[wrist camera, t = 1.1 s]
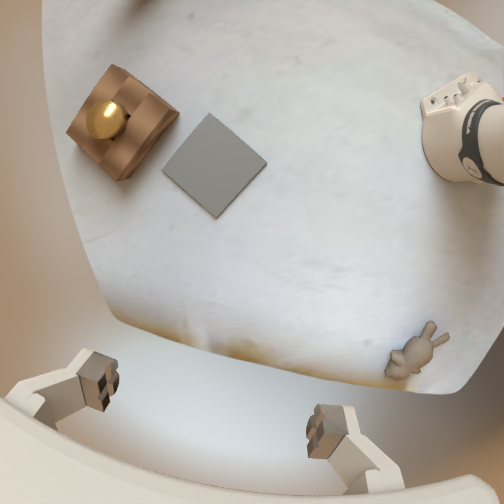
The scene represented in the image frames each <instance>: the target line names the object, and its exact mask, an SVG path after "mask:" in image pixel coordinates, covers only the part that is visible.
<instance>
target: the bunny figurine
mask: <svg viewBox="0 0 504 504" xmlns="http://www.w3.org/2000/svg"><path fill="white" fill-rule="evenodd" d="M436 329H437V326H436V324H435V323H434V322H433V321H429V322H427V323H426V325H425V327H424V330H423V332H422V335H421V337H416V336H414V337H412V338H411V339H410V340H409V341H408V342H407V343H406V344H405V346H404V348H403V350H392V351H391V353H390V355H391V358H392V359H391V360H390V361H389V363H388V366H387V369H385V374H386V376H388V377H390V378H391V377H392V379H394V380H396V381H397V380H399V379H402V380H403V379H406V378H408V377H409V375H410V373H416V374H419V373H420V372H421V371H420V368H421V367H423V366H425V365H426V364H427V363H428V362H430V360H431V359H432V357H433V348H434V347H437V346H439V345H441V344H443V343H445V342H447V341H448V340H449V338H450V336H449V333H444V334H443V335H441V336H440V337H438V338H437V339H435V340H434V341H431V340H430V338H431V337H432V335H433V334H434V332H435V331H436Z"/></svg>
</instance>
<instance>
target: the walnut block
mask: <svg viewBox="0 0 504 504" xmlns="http://www.w3.org/2000/svg"><path fill="white" fill-rule="evenodd" d="M101 100H110V101H114V102H118V103H121V104H122V105H123V106H124V107H125V108H126V110H127V113H128V114H129V115H131V117H130V118H129V120H128V121H127V125H126V127H125V129H124V131H123V132H122V133H121V134H120V135H119V136H117V137H115V138H112V139H97V138H94V137H92V136H91V135H90V134H89V132H88V130H87V127H86V118H87V114H88V112H89V110H90V108H91V107H92V106H93V105H94V104H95V103H96V102H98V101H101ZM179 113H180V112H178V111H177V110H176V109H175V108H173V107H172V106H171V105H170V104H168V103H167V102H166V101H165V100H163V99H162V98H161V97H160V96H158V95H157V94H156V93H155V92H153V91H152V90H151V89H149V88H148V87H147V86H146V85H144V84H143V83H142V82H140V81H139V80H138V79H137V78H135V77H134V76H133V75H131V74H130V73H129V72H127V71H126V70H124V69H122V68H120V67H118V66H115V65H113V64H112V65H111V66H110V67H109V68H108V70H107V71H106V72H105V74H104V75H103V76H102V78H101V79H100V81H99V82H98V83H97V85H96V86H95V88H94V89H93V91H92V92H91V93H90V95H89V96H88V98H87V99H86V101H85V102H84V104H83V106H82V107H81V109H80V110H79V112H78V113H77V115H76V117H75V118H74V120H73V122H72V123H71V125H70V127H69V128H68V130H67V132H66V133H67V134H68V135H69V136H70V137H71V138H72V139H73V140H74V141H75V142H76V143H77V144H78V145H79V146H80V147H81V148H82V149H83V150H84V151H85V152H86V153H87V154H88V155H89V156H90V157H91V158H92V159H93V160H94V161H95V162H96V163H97V164H99V165H100V166H101V167H102V168H103V169H104V170H105V171H106V172H107V173H108V174H109V175H110V176H111V177H112V178H113V179H114V180H115V181H119V180H123V179H128V178H130V177H131V175H132V174H133V173H134V171H135V170H136V168H137V167H138V166H139V164H140V163H141V161H142V160H143V159H144V157H145V156H146V155H147V153H148V152H149V151H150V149H151V148H152V147H153V145H154V144H155V143H156V141H157V140H158V139H159V138H160V136H161V135H162V134H163V133H164V131H165V130H166V129H167V128H168V126H169V125H170V124H171V123H172V121H173V120H174V119H175V118H176V117H177V115H178V114H179Z"/></svg>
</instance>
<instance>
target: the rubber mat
mask: <svg viewBox="0 0 504 504" xmlns="http://www.w3.org/2000/svg"><path fill="white" fill-rule="evenodd" d="M266 163H267V162H266V161H265V160H264V159H263V158H262V157H261V156H259V155H258V154H257V153H256V152H255V151H254V150H253V149H252V148H250V147H249V146H248V145H247V144H246V143H245V142H244V141H242V140H241V139H240V138H239V137H238V136H237V135H235V134H234V133H233V132H232V131H231V130H230V129H228V128H227V127H226V126H225V125H224V124H222V123H221V122H220V121H219V120H218V119H216V118H215V117H214V116H213V115H212V114H210V113H209V114H208V115H207V116H206V117H205V118H204V119H203V120H202V122H201V123H200V124H199V125H198V126H197V127H196V128H195V130H194V131H193V132H192V133H191V134H190V136H189V137H188V138H187V139H186V140H185V142H184V143H183V144H182V145H181V146H180V148H179V149H178V150H177V151H176V153H175V154H174V155H173V156H172V158H171V159H170V160H169V161H168V163H167V164H166V165H165V166H164V168H163V169H162V171H163V172H164V173H166V174H167V175H168V176H169V177H170V178H171V179H172V180H173V181H175V182H176V183H177V184H178V185H179V186H180V187H181V188H182V189H184V190H185V191H186V192H187V193H188V194H189V195H190V196H191V197H193V198H194V199H195V200H196V201H197V202H198V203H199V204H200V205H202V206H203V207H204V208H205V209H206V210H207V211H208V212H209V213H211V214H212V215H213V216H214V217H215V218H217V216H218V215H219V214H220V213H221V212H222V211H223V210H224V209H225V207H226V206H227V205H228V204H229V203H230V202H231V201H232V200H233V199H234V197H235V196H236V195H237V194H238V193H239V192H240V191H241V190H242V189H243V188H244V187H245V185H246V184H247V183H248V182H249V181H250V180H251V179H252V178H253V177H254V176H255V175H256V174H257V173H258V171H259V170H260V169H261V168H262V167H263V166H264V165H265V164H266Z"/></svg>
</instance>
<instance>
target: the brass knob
mask: <svg viewBox="0 0 504 504" xmlns="http://www.w3.org/2000/svg"><path fill="white" fill-rule="evenodd" d="M130 117H131V115H129V114H128V113H127V110H126V108H125V107H124V106H123V105H122V104H121V103H118V102H114V101H110V100H101V101H98V102H96V103H95V104H94V105H93V106H92V107H91V108H90V110H89V112H88V114H87V118H86V127H87V130H88V132H89V134H90V135H91V136H92V137H94V138H97V139H112V138H115V137H117V136H119V135H120V134H121V133H122V132H123V131H124V129H125V127H126V125H127V121H128V120H129V118H130Z"/></svg>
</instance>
